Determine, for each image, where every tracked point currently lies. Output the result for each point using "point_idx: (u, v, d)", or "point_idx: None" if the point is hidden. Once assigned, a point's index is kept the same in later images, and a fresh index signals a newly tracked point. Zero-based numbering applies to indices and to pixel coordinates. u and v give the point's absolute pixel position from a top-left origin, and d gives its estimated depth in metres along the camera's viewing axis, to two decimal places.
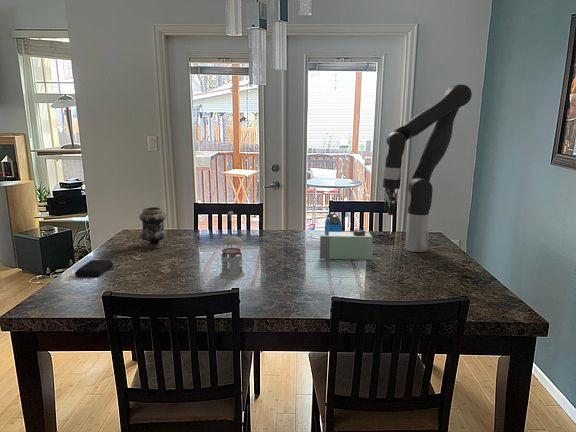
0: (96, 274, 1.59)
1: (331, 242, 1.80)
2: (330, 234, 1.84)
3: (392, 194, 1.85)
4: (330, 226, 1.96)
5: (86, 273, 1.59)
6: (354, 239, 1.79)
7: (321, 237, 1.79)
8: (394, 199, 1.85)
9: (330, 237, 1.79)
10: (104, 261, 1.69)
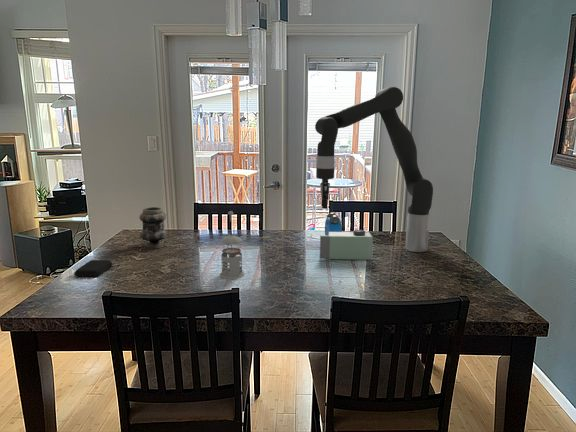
0: (95, 274, 1.59)
1: (331, 242, 1.80)
2: (330, 234, 1.84)
3: (324, 188, 1.72)
4: (330, 226, 1.96)
5: (85, 273, 1.59)
6: (354, 239, 1.79)
7: (321, 237, 1.79)
8: (326, 193, 1.73)
9: (330, 237, 1.79)
10: (103, 261, 1.69)
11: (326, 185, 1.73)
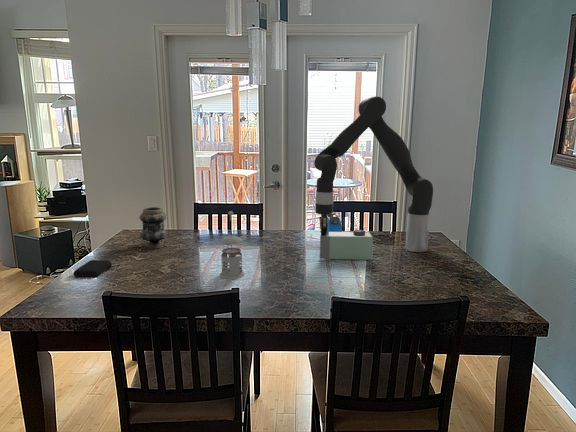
0: (94, 274, 1.59)
1: (331, 242, 1.80)
2: (330, 234, 1.84)
3: (322, 226, 1.76)
4: (330, 226, 1.96)
5: (84, 273, 1.59)
6: (354, 239, 1.79)
7: (321, 237, 1.79)
8: (325, 229, 1.77)
9: (330, 237, 1.79)
10: (103, 261, 1.69)
11: (325, 222, 1.76)
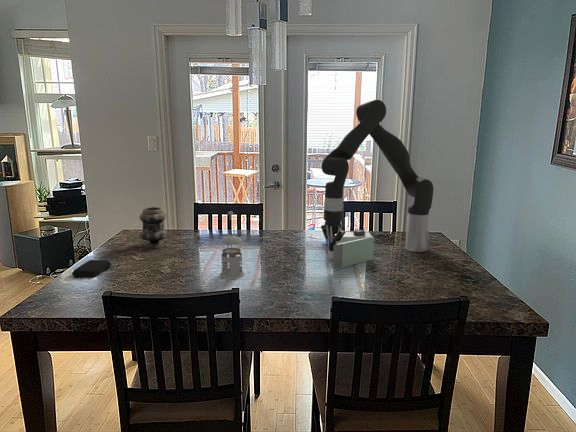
0: (93, 274, 1.59)
1: (343, 249, 1.69)
2: None
3: (341, 234, 1.64)
4: None
5: (83, 273, 1.59)
6: (361, 242, 1.75)
7: (336, 246, 1.67)
8: (340, 237, 1.66)
9: (343, 244, 1.69)
10: (102, 261, 1.69)
11: (341, 230, 1.64)
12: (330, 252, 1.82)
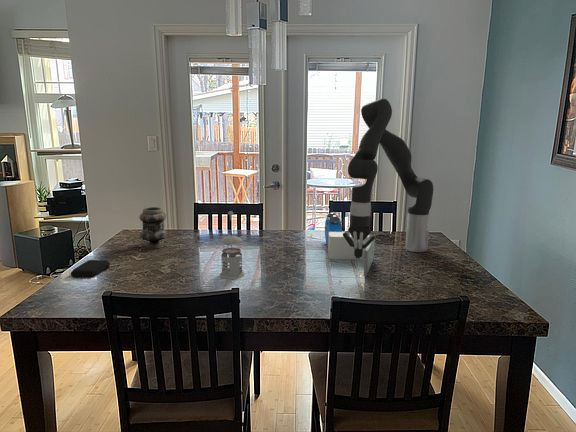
0: (91, 274, 1.59)
1: (368, 254, 1.64)
2: (330, 234, 1.84)
3: (374, 238, 1.58)
4: (330, 226, 1.96)
5: (81, 273, 1.59)
6: (372, 244, 1.72)
7: (367, 252, 1.59)
8: None
9: (368, 249, 1.63)
10: (101, 261, 1.69)
11: None
12: (330, 252, 1.82)
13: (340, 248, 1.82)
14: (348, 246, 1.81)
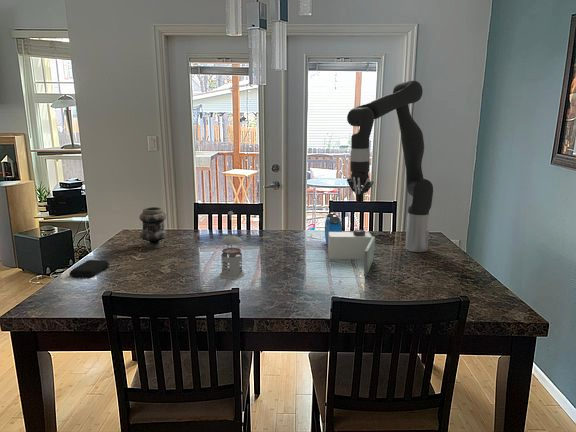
0: (90, 274, 1.59)
1: (368, 254, 1.64)
2: (330, 234, 1.84)
3: (369, 184, 1.65)
4: (330, 226, 1.96)
5: (80, 273, 1.59)
6: (372, 244, 1.72)
7: (367, 252, 1.59)
8: (369, 187, 1.67)
9: (368, 249, 1.63)
10: (100, 261, 1.69)
11: None
12: (330, 252, 1.82)
13: (340, 248, 1.82)
14: (348, 246, 1.81)
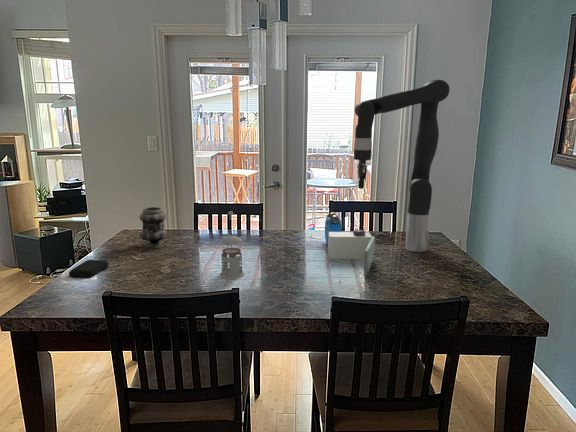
0: (89, 274, 1.59)
1: (368, 254, 1.64)
2: (330, 234, 1.84)
3: (362, 171, 1.80)
4: (330, 226, 1.96)
5: (79, 273, 1.59)
6: (372, 244, 1.72)
7: (367, 252, 1.59)
8: (364, 174, 1.82)
9: (368, 249, 1.63)
10: (99, 261, 1.69)
11: (364, 167, 1.80)
12: (330, 252, 1.82)
13: (340, 248, 1.82)
14: (348, 246, 1.81)
